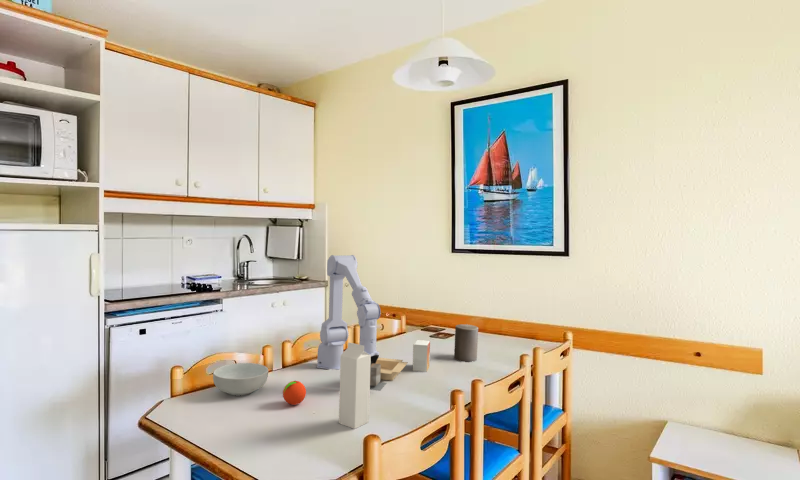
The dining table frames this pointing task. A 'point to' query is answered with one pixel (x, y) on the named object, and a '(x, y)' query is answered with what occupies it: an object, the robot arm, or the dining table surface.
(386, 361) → the tan shallow tray
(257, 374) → the cereal bowl
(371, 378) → the block
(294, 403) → the clementine
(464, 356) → the pillar candle
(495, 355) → the dining table surface
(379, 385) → the mat
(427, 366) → the small box
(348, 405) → the milk
